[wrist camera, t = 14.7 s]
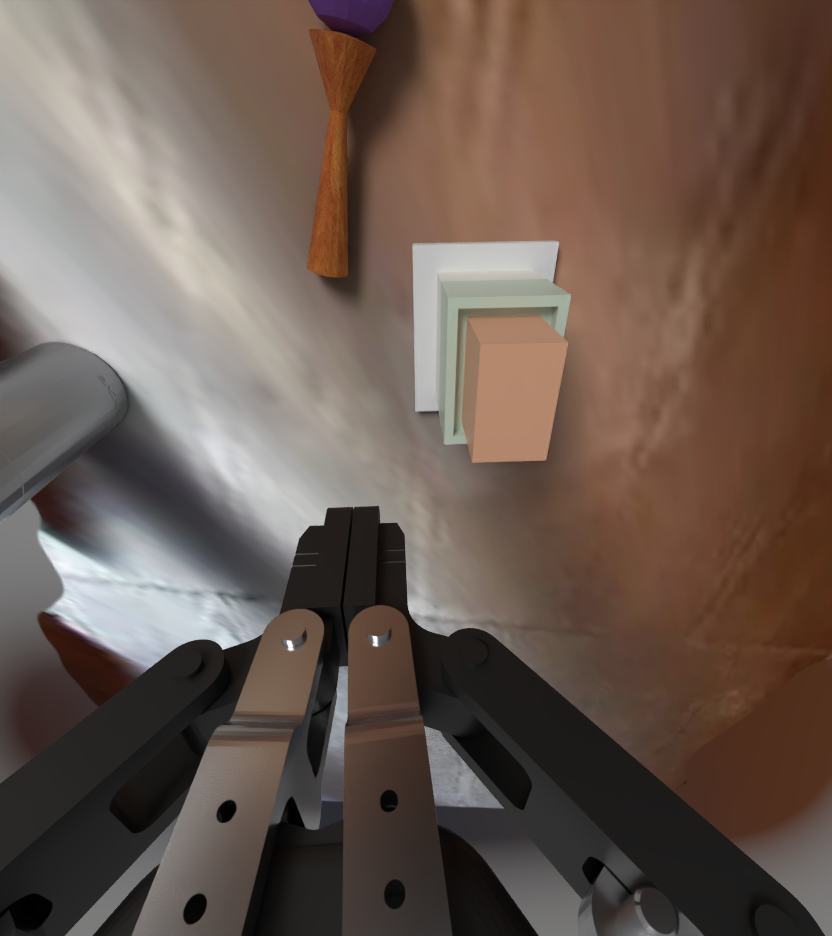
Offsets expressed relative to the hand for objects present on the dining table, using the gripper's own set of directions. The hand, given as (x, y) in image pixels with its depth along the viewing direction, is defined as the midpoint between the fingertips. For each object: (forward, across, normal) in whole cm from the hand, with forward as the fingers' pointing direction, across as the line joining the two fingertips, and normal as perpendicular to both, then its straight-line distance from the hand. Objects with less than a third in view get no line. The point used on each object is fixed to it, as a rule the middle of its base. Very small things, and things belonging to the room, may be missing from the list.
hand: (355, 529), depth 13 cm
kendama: (+30, +2, -13) cm, 33 cm away
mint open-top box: (+30, -9, +3) cm, 31 cm away
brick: (+20, -9, +3) cm, 22 cm away
